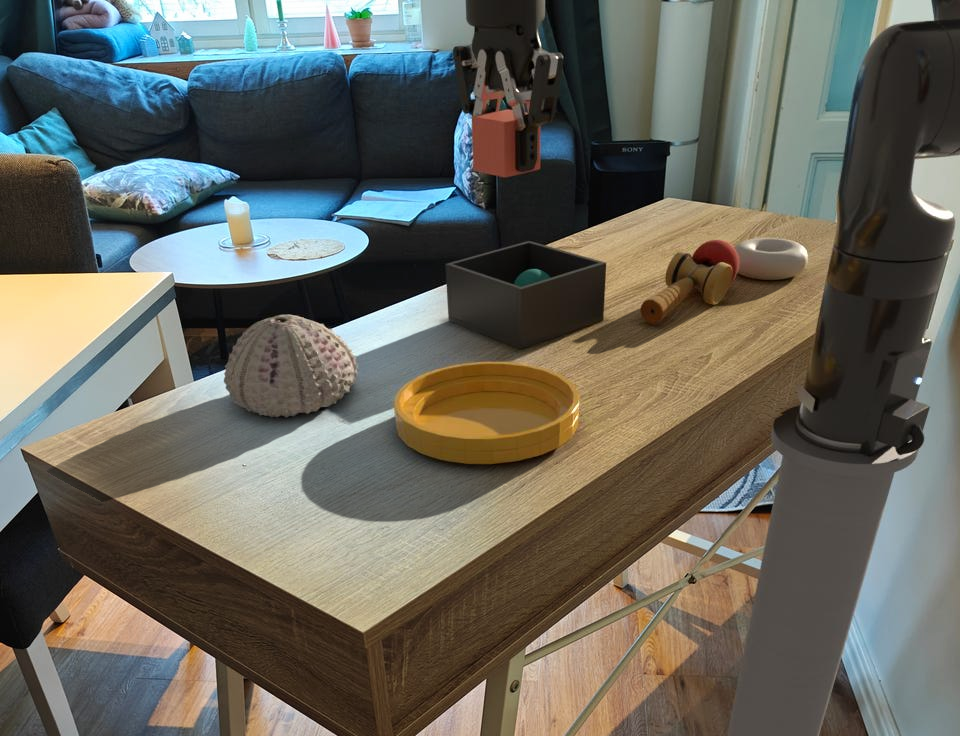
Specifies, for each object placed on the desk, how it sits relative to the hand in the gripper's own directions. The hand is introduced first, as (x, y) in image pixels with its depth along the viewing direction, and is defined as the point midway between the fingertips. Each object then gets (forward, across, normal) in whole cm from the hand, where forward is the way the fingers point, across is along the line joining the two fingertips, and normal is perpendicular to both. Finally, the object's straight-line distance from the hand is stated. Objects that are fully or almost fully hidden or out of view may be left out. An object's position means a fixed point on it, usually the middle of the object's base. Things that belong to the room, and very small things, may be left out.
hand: (507, 165), depth 93 cm
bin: (+18, -2, +4) cm, 18 cm away
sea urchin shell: (+18, -2, -28) cm, 33 cm away
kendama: (+18, +9, +22) cm, 30 cm away
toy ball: (+17, -2, +6) cm, 18 cm away
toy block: (0, 0, 0) cm, 0 cm away
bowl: (+17, +17, -18) cm, 30 cm away
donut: (+18, +8, +39) cm, 44 cm away
